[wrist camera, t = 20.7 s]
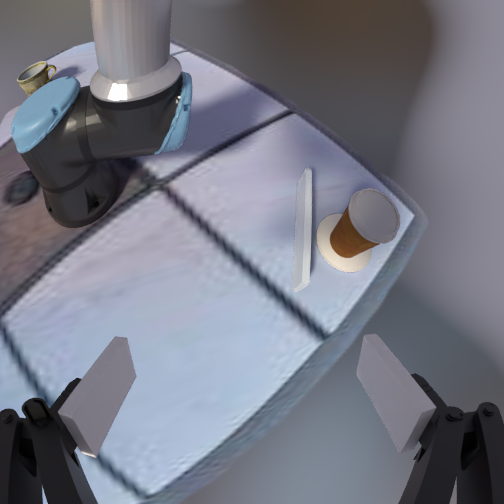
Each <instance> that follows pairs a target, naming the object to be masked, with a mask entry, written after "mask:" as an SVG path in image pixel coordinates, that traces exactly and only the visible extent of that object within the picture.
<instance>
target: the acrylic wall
mask: <svg viewBox="0 0 504 504" xmlns="http://www.w3.org/2000/svg"><path fill="white" fill-rule="evenodd" d="M311 225H312V170H311V169H308V168H305V170H304V172H303V174H302V176H301V177H300V179H299V181H298V183H297V202H296V223H295V241H294V257H293V271H292V285H291V291H295V292H299V291H300V290H301V289H303V288H304V287H305V286H307V285H308V284H309V280H310V258H311Z"/></svg>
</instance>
